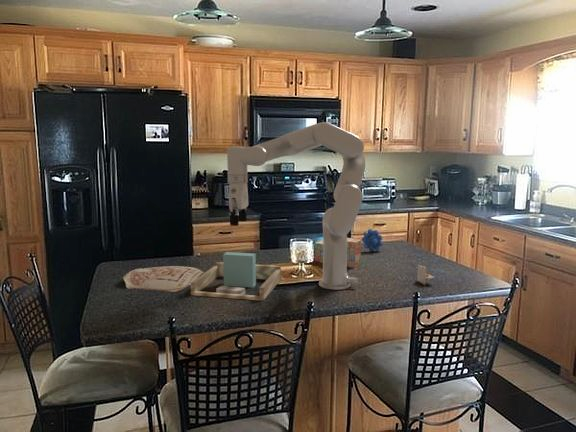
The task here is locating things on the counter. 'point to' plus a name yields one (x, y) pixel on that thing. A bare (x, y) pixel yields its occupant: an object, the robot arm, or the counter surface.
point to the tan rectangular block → (352, 252)
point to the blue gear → (372, 240)
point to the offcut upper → (230, 290)
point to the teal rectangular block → (239, 269)
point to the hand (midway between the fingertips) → (238, 223)
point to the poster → (162, 278)
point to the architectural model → (423, 274)
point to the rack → (262, 272)
